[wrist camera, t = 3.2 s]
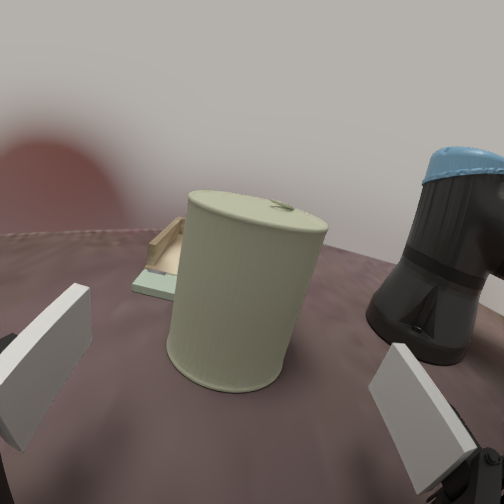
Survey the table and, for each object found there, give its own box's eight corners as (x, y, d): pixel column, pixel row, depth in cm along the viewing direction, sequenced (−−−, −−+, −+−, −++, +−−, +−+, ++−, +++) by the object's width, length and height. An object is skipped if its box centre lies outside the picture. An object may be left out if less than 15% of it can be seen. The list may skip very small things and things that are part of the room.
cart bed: (269, 257, 47) (274, 237, 46) (281, 303, 32) (289, 275, 31) (174, 237, 45) (177, 216, 44) (143, 275, 31) (146, 245, 30)
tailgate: (280, 302, 32) (283, 294, 32) (286, 322, 28) (288, 314, 28) (144, 274, 31) (145, 265, 31) (131, 290, 27) (132, 281, 26)
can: (301, 357, 23) (349, 219, 20) (233, 414, 16) (289, 224, 12) (220, 309, 28) (247, 186, 24) (142, 339, 20) (159, 180, 17)
